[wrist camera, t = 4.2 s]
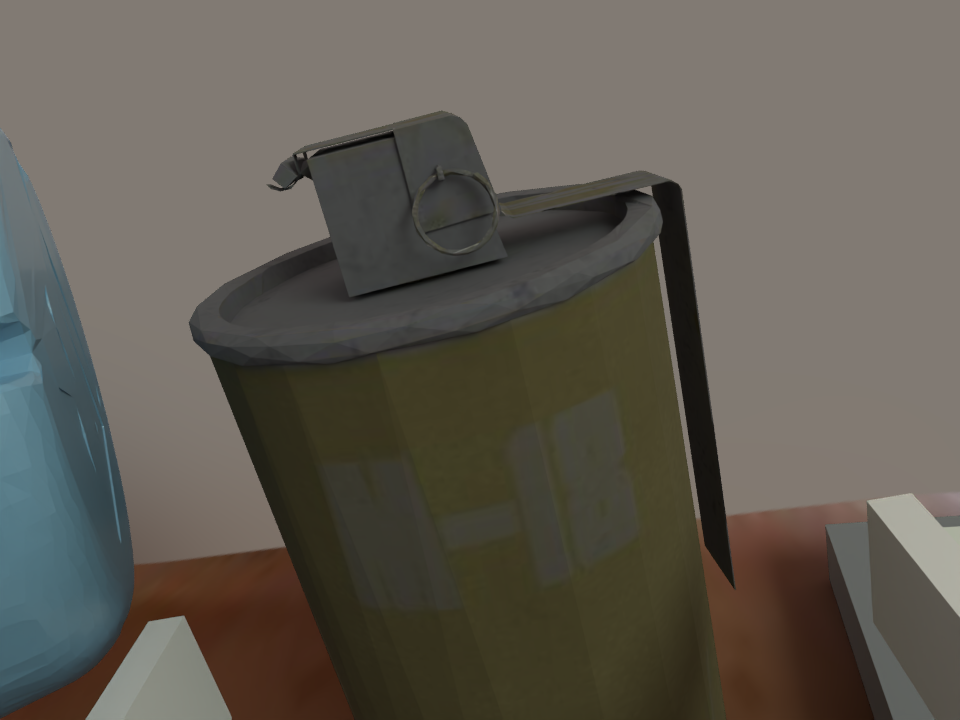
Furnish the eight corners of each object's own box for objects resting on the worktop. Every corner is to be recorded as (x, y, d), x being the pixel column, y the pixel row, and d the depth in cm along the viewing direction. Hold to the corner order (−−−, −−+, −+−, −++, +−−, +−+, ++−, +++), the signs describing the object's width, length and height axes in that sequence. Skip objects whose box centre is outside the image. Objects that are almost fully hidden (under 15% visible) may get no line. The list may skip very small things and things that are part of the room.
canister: (404, 1039, 18) (38, 233, 11) (400, 704, 28) (207, 163, 21) (838, 919, 18) (759, 50, 11) (684, 628, 28) (589, 67, 21)
